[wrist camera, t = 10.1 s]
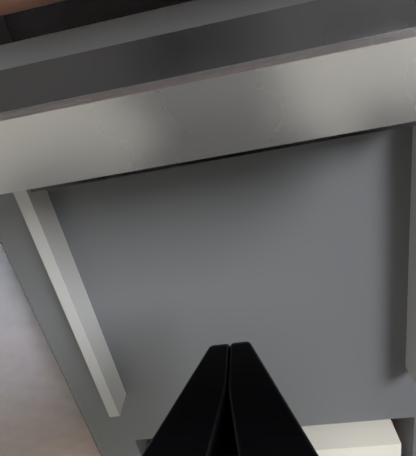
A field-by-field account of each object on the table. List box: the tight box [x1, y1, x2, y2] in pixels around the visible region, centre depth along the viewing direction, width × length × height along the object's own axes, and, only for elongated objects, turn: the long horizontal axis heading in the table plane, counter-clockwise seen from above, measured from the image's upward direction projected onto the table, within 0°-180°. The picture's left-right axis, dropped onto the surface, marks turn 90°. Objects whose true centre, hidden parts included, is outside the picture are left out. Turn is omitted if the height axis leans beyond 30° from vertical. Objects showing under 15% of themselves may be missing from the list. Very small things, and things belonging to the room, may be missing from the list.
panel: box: [0, 0, 416, 456], centre depth 13 cm, size 26×15×3 cm, turn 11°
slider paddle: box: [0, 0, 416, 195], centre depth 8 cm, size 3×10×4 cm, turn 101°
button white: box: [301, 419, 401, 456], centre depth 17 cm, size 3×10×2 cm, turn 101°
